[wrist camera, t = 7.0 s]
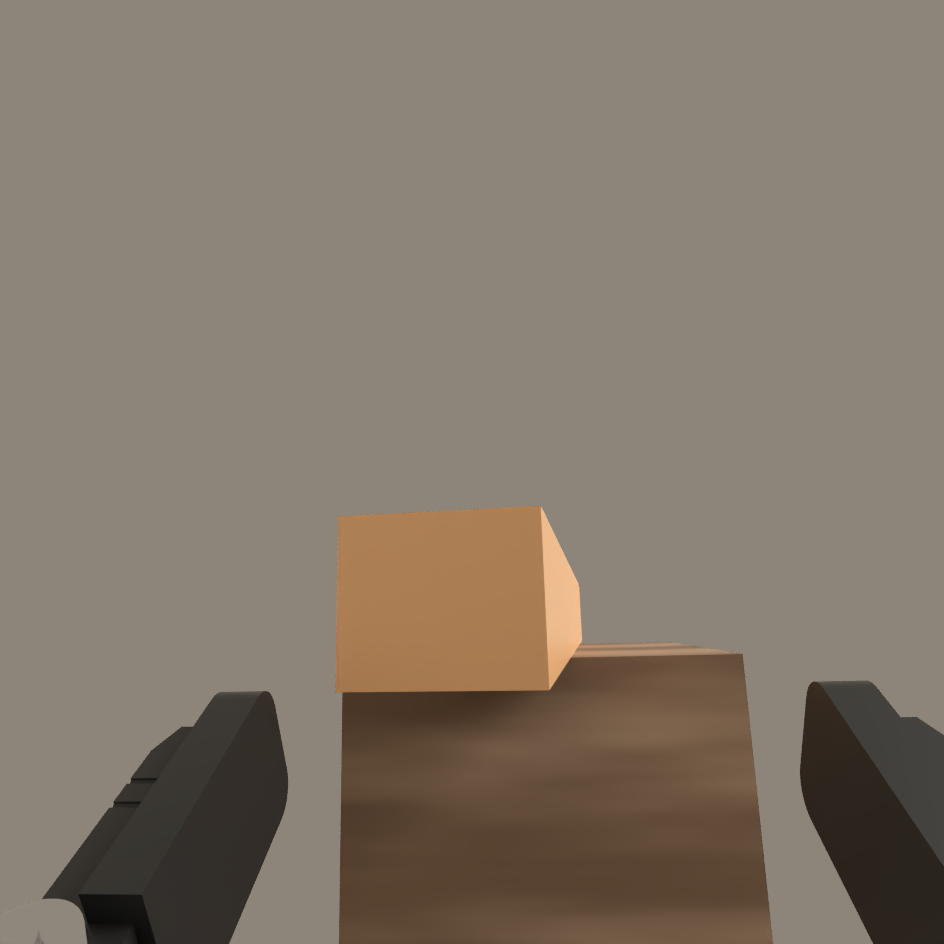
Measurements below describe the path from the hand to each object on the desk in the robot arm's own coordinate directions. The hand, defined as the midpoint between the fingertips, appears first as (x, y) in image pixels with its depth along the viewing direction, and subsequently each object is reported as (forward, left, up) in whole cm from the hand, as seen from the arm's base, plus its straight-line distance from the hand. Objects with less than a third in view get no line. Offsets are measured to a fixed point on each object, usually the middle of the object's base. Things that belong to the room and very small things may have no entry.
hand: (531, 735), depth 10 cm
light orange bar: (-2, -15, +1) cm, 15 cm away
